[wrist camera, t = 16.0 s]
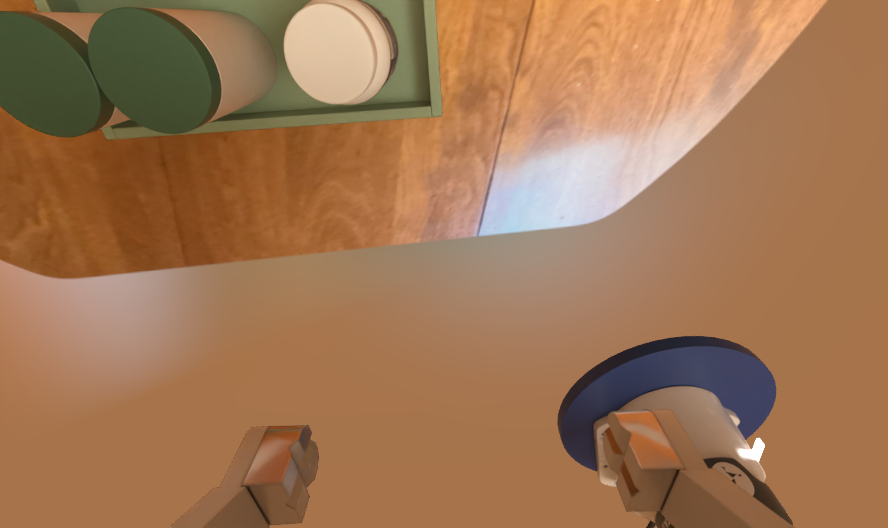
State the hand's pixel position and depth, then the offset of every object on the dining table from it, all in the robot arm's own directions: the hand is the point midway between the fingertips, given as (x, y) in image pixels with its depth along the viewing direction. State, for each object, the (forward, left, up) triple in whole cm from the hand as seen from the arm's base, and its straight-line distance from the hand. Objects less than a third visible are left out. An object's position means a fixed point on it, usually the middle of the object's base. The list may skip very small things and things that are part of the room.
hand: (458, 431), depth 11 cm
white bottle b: (+8, +21, -26) cm, 35 cm away
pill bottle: (+8, +6, -26) cm, 28 cm away
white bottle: (+8, +15, -26) cm, 31 cm away
